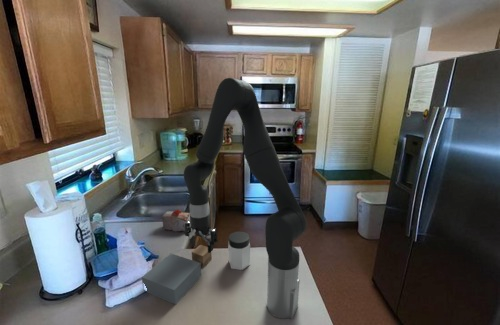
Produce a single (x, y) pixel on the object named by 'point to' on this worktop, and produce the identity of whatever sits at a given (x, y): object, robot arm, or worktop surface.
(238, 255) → the jar
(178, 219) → the food item
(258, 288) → the worktop surface
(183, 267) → the slate block
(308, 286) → the worktop surface
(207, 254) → the walnut cube
